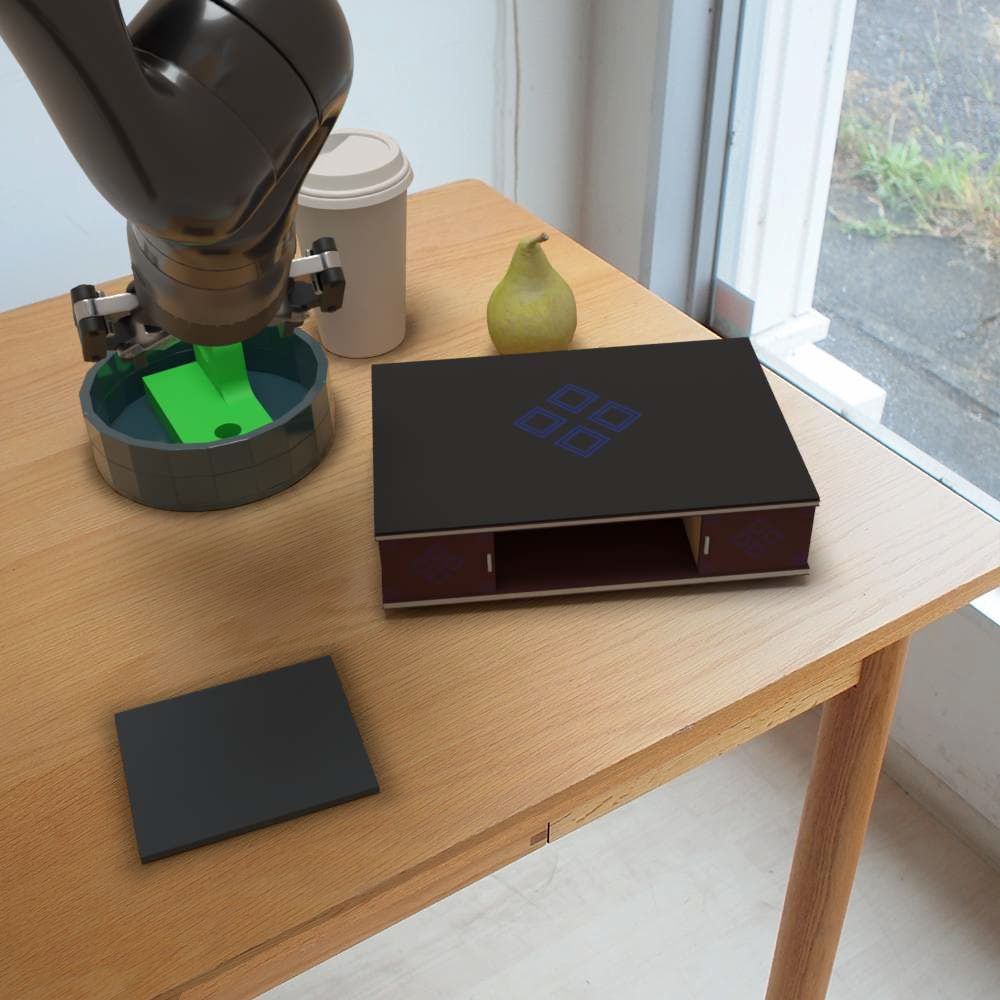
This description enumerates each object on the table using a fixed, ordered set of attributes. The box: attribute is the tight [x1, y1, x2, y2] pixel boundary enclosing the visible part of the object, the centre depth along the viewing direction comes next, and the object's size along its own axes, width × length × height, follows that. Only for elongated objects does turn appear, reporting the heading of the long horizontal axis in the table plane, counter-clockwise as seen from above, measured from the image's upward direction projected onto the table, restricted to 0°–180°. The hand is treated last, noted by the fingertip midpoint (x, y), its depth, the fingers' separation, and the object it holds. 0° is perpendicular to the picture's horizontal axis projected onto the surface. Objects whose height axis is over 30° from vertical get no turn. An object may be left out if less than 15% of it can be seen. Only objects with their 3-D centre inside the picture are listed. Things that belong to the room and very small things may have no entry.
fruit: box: [486, 232, 578, 355], centre depth 95 cm, size 7×8×12 cm
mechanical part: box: [142, 342, 273, 444], centre depth 89 cm, size 12×6×8 cm, turn 29°
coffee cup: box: [295, 128, 414, 359], centre depth 97 cm, size 10×10×15 cm
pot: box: [78, 325, 336, 512], centre depth 90 cm, size 16×16×5 cm
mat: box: [113, 654, 381, 864], centre depth 69 cm, size 12×10×1 cm
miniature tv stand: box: [370, 336, 821, 611], centre depth 82 cm, size 17×25×7 cm
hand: (210, 336), depth 77 cm, fingers open, 8 cm apart
